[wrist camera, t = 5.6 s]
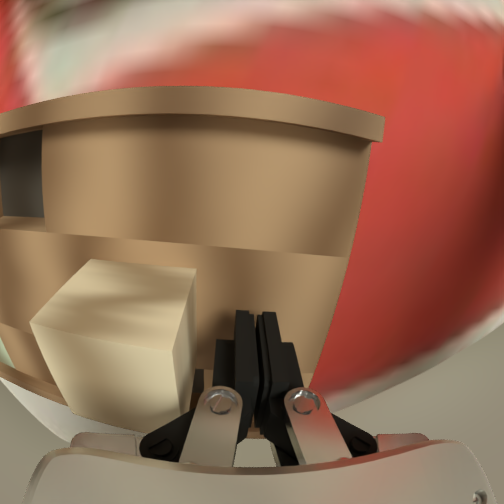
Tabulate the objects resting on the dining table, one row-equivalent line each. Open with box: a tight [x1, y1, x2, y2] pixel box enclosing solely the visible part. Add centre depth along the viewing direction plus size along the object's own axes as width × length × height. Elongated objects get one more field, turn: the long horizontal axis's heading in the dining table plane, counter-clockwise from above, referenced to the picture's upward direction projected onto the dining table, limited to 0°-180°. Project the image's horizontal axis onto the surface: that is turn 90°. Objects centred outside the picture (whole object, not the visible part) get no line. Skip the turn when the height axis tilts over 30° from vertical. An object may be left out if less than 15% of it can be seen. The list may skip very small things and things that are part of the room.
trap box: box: [0, 86, 385, 439], centre depth 12 cm, size 28×19×3 cm
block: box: [29, 259, 197, 434], centre depth 10 cm, size 5×5×5 cm
